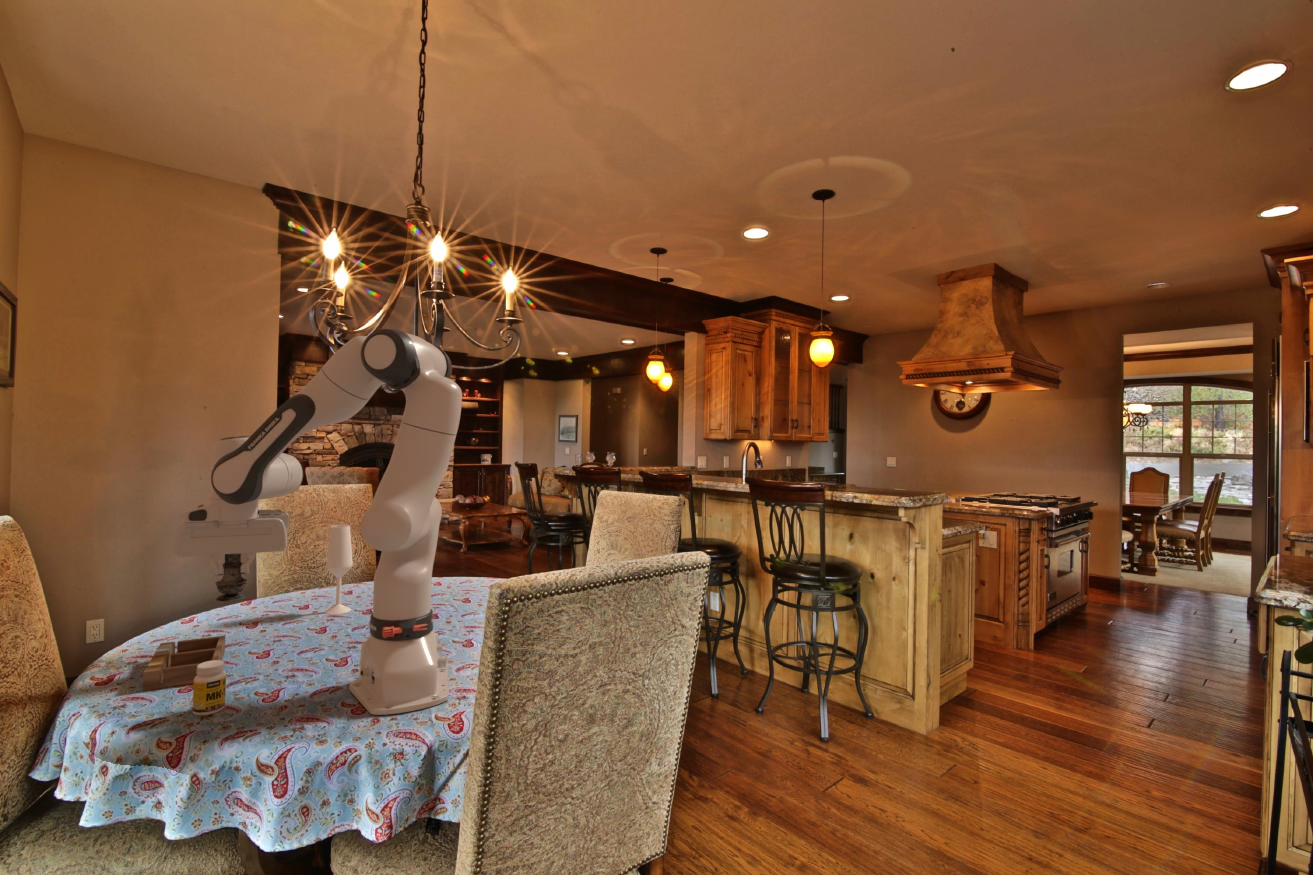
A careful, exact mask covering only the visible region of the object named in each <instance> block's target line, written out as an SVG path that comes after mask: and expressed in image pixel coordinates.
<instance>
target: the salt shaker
mask: <svg viewBox="0 0 1313 875" xmlns="http://www.w3.org/2000/svg"><path fill="white" fill-rule="evenodd" d="M241 557H242V553H241V554H224V563H222V565H221V566H224V569H223V570H224V574H223V575H222V579H220V580H217V581H216V582H215V583H214V584H215V585H216V589H217V591H218V592H219V593H221V595H220V596H218V597H216V601H217V602H234V601H235V602H236V601H239V600H243V599H245V598H247V595H246V594H244V593H242V592H243V591H244V590H245V589H246V587H247V583H248V582H249V579H248V578H244V577H243V576H242V574H240V571H241V565H244V564H243V562H242V561H241V560H242V558H241Z"/></svg>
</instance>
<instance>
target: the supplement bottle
mask: <svg viewBox="0 0 1313 875" xmlns="http://www.w3.org/2000/svg"><path fill="white" fill-rule="evenodd" d="M224 670H225V662H224V661H223V660H222V661H221V660H213V661H207V662H203V663H201V664H199V665H198V666H197V676H196V677H195V678H194V683H193V687H192V688H193V693H192V714H193V715H195V716H209V715H212V714H216V713H218V712H220V711H222V710H223V709H224V708H226V707H225V705H226V690H227V689H226V687H227V684H226V683H227V673H226V672H225V671H224Z"/></svg>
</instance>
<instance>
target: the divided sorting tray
mask: <svg viewBox="0 0 1313 875" xmlns="http://www.w3.org/2000/svg"><path fill="white" fill-rule="evenodd" d="M176 644H177V646H176ZM225 651H226V635H219V636H210V637H201V638H192V639H183V640H178V641H177V643H176V641H168V642H166V641H165V642H160V643H159V645H158V647H157V649H156V651H155V652H154V653H153V655H152V657H151V659H150V661H149V662H148V664H147V665H146V667H145V669H144V671H143V672H142V692H145V691H151V690H153V691H154V690H158V689H165V688H172V687H178V686H184V685H185V686H186V685H194V678H195V677H196V676H197V666H198V665H199V664H201V663H203V662H207V661H213V660H221V661H223V659H224V655H225Z"/></svg>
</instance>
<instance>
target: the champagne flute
mask: <svg viewBox="0 0 1313 875" xmlns="http://www.w3.org/2000/svg"><path fill="white" fill-rule="evenodd" d="M351 536H352V534H351V525H350V524H335V525H331V527H330V533H329V540H328V547H327V556H326V561H325V562H326V563H325V567H326V569H327V570H328V572H329V573H331V575H333V576H334V577H336V593H335V595H336V596H335V604H334V605H333V606H331V607H329V608H328V609H326V610H325V611H324V613H325V614H326V615H342V614H346V613H349V612H351V611H352V608H350V607H348V606H346V605H343V604H341V603H342V602H341V601H342V577H343V576H345V575H346V574H347V573H348V572H349V571H350V570H351V569H352V567H353V563H354V562H353V549H352V548H353V547H352V537H351Z"/></svg>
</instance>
